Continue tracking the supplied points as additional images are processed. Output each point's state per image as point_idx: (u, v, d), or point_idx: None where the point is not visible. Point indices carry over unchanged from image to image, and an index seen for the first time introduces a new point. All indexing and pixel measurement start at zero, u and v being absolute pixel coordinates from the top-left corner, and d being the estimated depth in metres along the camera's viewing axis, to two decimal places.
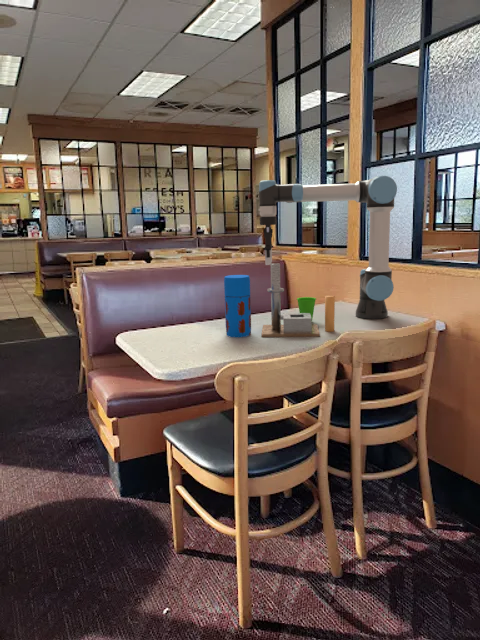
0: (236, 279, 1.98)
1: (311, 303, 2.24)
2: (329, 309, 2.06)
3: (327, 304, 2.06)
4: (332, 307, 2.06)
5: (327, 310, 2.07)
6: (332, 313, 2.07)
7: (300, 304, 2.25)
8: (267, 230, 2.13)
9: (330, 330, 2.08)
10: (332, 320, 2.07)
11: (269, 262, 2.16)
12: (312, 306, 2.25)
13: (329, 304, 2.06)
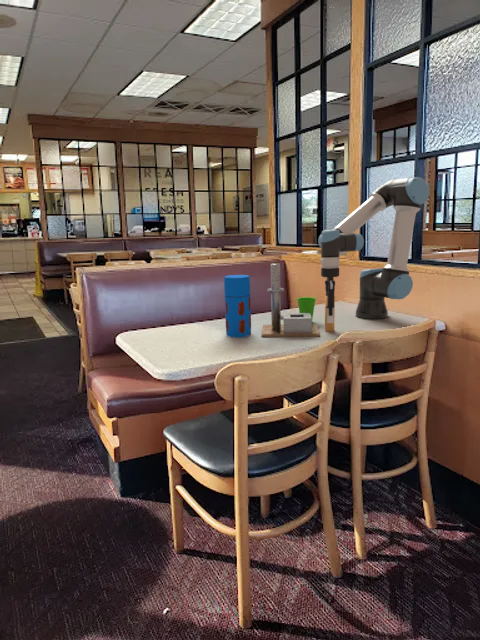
0: (236, 279, 1.98)
1: (311, 303, 2.24)
2: None
3: (327, 304, 2.06)
4: None
5: None
6: None
7: (300, 304, 2.25)
8: (331, 288, 2.00)
9: (330, 330, 2.08)
10: None
11: (331, 320, 2.06)
12: (312, 306, 2.25)
13: None
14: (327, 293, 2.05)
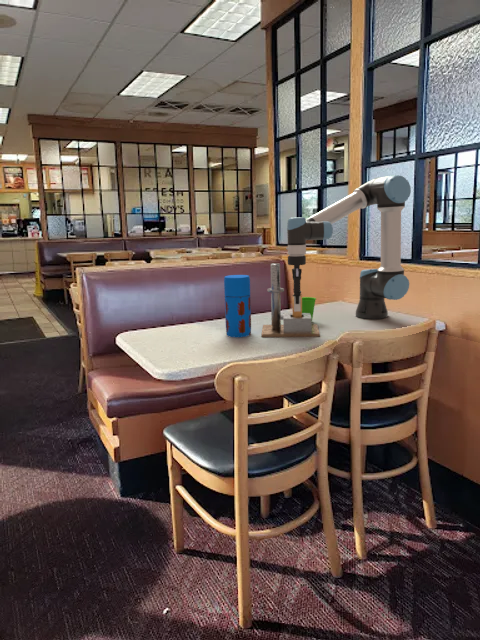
0: (236, 279, 1.98)
1: (311, 303, 2.24)
2: None
3: None
4: None
5: None
6: None
7: None
8: (296, 275, 1.98)
9: None
10: None
11: (298, 308, 2.03)
12: (312, 306, 2.25)
13: None
14: None
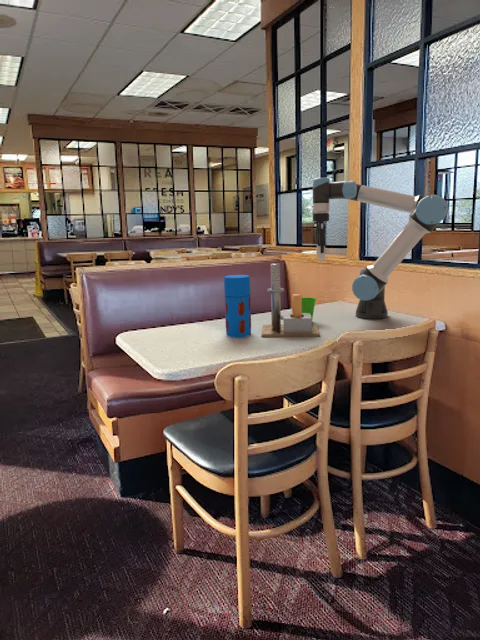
0: (236, 279, 1.98)
1: (311, 303, 2.24)
2: (296, 307, 2.05)
3: (294, 302, 2.05)
4: (299, 305, 2.05)
5: (294, 308, 2.06)
6: (299, 311, 2.06)
7: None
8: (321, 226, 2.19)
9: None
10: None
11: (323, 258, 2.21)
12: (312, 306, 2.25)
13: (295, 302, 2.05)
14: None
